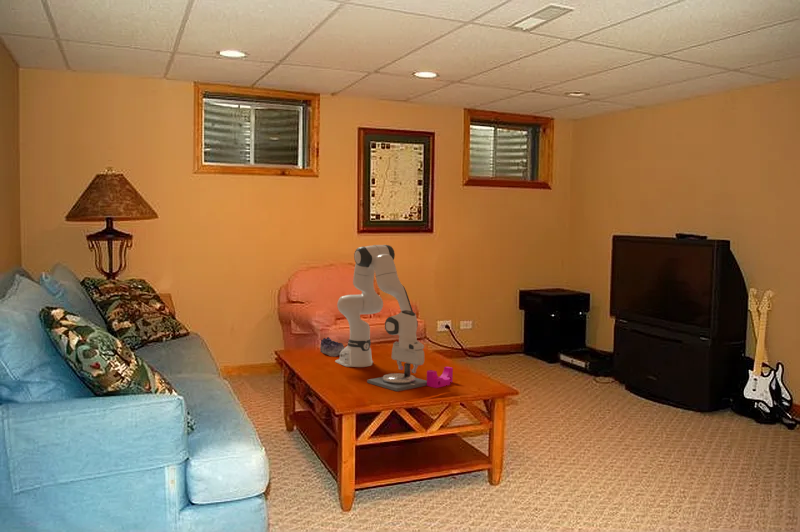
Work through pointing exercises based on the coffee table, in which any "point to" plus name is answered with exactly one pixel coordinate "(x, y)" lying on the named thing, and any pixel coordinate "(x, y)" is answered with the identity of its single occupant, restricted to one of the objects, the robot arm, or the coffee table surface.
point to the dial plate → (397, 387)
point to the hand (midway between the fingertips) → (407, 371)
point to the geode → (331, 347)
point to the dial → (400, 376)
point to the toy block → (439, 378)
